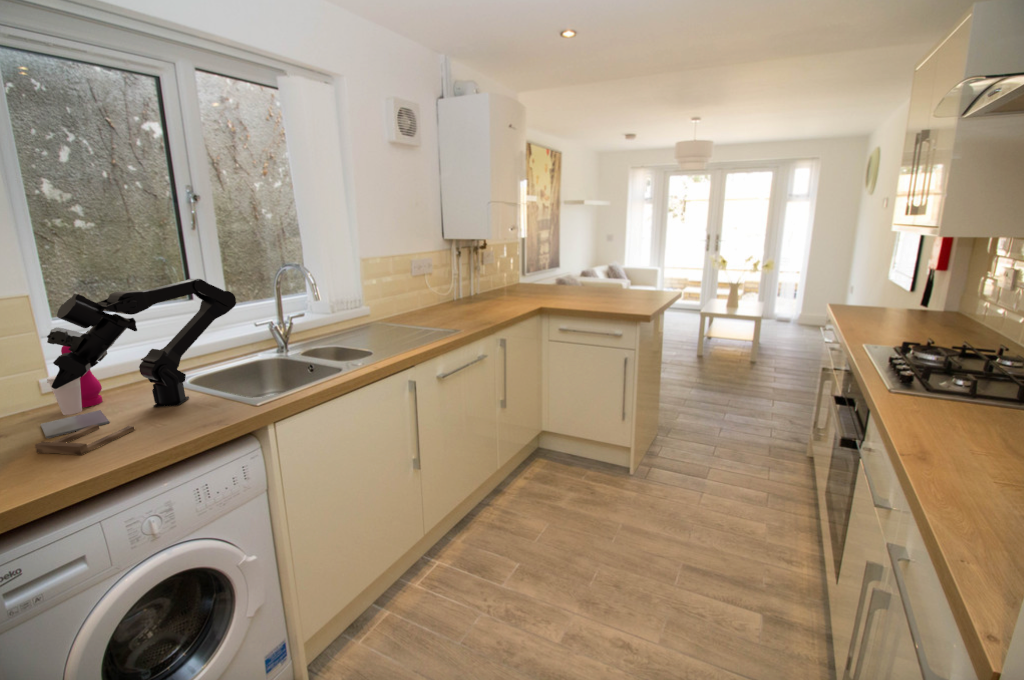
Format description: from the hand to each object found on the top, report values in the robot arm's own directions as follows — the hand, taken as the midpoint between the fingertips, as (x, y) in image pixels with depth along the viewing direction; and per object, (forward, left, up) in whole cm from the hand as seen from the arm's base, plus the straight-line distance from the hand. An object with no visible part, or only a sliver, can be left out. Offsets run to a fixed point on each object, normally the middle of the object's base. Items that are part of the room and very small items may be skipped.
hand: (58, 384), depth 122 cm
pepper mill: (+6, -16, -11) cm, 21 cm away
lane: (-12, +11, -11) cm, 20 cm away
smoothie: (-1, 0, -8) cm, 8 cm away
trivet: (-1, 0, -11) cm, 11 cm away
